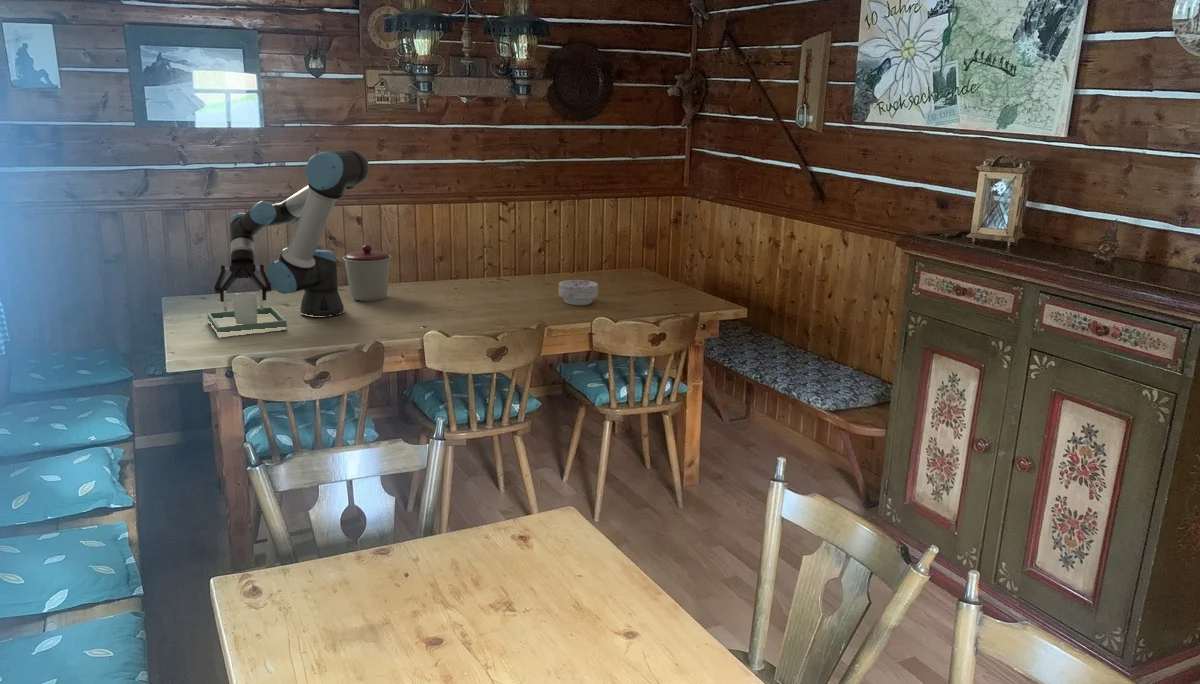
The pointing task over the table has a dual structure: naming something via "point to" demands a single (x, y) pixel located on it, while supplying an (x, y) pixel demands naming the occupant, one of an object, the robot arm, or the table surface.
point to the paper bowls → (578, 291)
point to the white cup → (245, 308)
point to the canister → (367, 273)
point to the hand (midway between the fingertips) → (243, 308)
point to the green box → (266, 310)
